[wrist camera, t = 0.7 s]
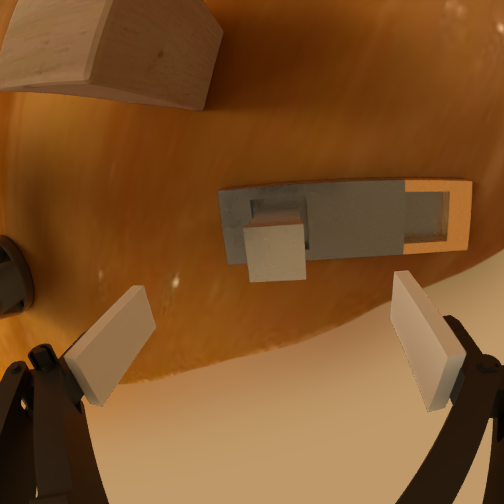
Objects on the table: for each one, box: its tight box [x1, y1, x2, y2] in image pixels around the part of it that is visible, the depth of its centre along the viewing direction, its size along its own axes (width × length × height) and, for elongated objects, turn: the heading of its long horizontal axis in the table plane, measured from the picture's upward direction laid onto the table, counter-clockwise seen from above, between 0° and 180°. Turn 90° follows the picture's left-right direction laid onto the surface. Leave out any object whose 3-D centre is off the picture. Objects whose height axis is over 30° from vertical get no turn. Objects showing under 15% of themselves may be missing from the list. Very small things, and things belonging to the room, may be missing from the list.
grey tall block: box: [243, 201, 306, 282], centre depth 27 cm, size 4×4×10 cm
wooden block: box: [0, 0, 224, 111], centre depth 18 cm, size 10×10×20 cm
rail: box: [217, 177, 472, 265], centre depth 30 cm, size 28×8×2 cm, turn 96°
